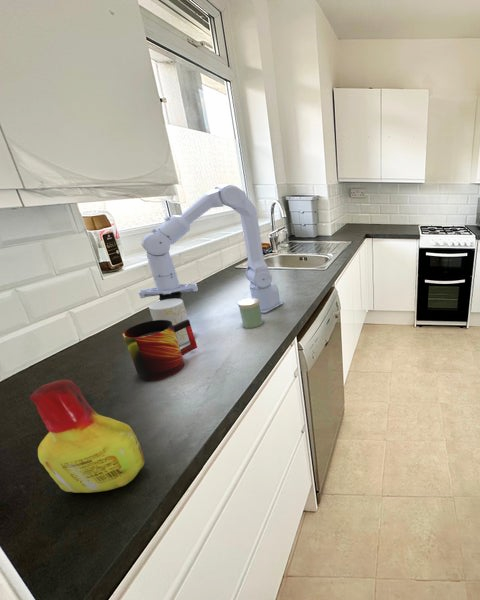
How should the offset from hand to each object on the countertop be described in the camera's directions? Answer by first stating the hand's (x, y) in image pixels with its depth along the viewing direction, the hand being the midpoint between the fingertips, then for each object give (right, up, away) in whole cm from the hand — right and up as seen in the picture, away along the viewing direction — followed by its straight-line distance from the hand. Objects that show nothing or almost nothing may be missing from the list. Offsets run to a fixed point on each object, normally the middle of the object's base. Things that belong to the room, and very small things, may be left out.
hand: (176, 315), depth 99 cm
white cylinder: (+3, -8, -4) cm, 9 cm away
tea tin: (+21, -3, +6) cm, 22 cm away
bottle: (+22, -25, -47) cm, 58 cm away
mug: (+9, -13, -16) cm, 23 cm away
